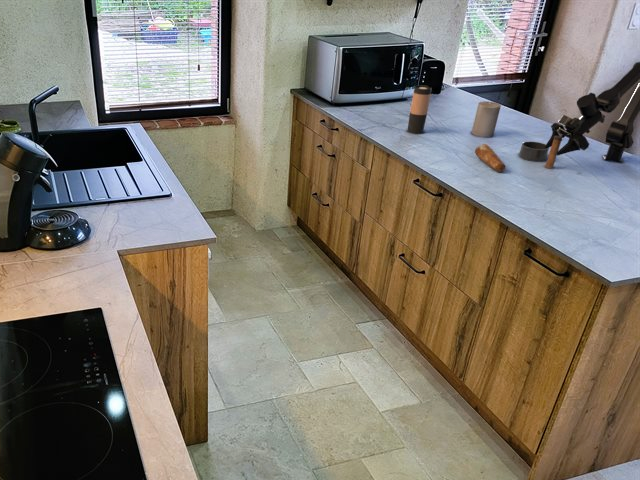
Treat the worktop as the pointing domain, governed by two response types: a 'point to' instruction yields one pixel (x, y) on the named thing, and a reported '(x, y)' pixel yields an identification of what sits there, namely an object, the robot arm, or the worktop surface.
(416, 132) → the travel mug
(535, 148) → the bowl
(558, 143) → the stick
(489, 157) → the bread
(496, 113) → the pillar candle
